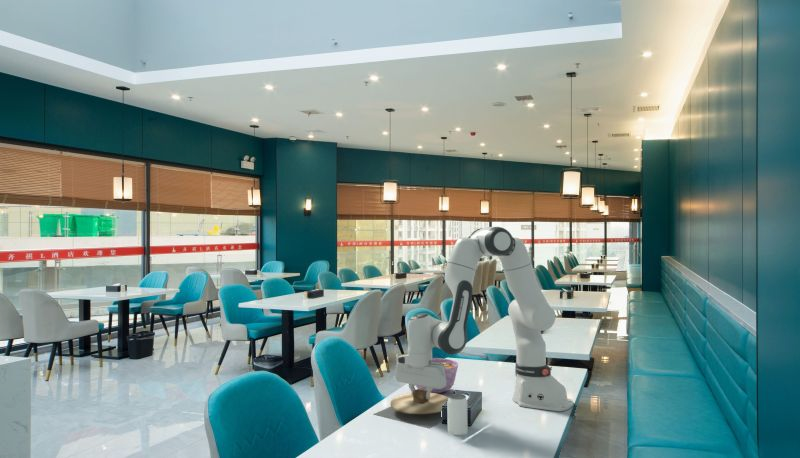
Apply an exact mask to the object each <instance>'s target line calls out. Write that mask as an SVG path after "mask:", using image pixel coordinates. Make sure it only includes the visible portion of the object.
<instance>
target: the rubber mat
mask: <svg viewBox="0 0 800 458" xmlns="http://www.w3.org/2000/svg"><path fill="white" fill-rule="evenodd" d="M372 414H373V416H377V417H381V418H386V419H389V420H392V421H398V422H402V423H405V424H409V425H414V426H417V427H422V428H427V429H431V428H433V427H435V426H437V425H439V424H440V423H442V422H443V421H442V417H441V412H437V413H431V414H409V413H403V412H400V411H397V410H395V409H393V408H392V407H391V406H389V407H386V408H384V409H382V410H379V411H377V412H375V413H372Z"/></svg>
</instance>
